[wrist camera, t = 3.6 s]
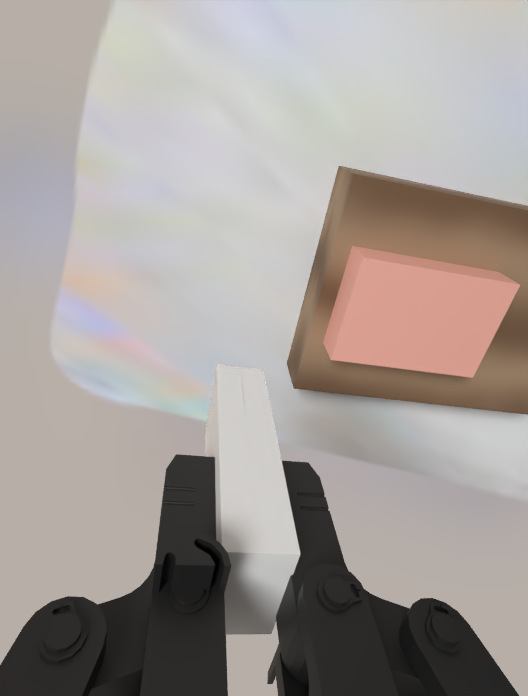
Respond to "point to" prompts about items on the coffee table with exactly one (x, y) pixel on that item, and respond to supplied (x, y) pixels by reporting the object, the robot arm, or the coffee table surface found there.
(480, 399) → the brown flat block
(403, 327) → the pink rectangular block
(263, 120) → the coffee table surface
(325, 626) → the robot arm
